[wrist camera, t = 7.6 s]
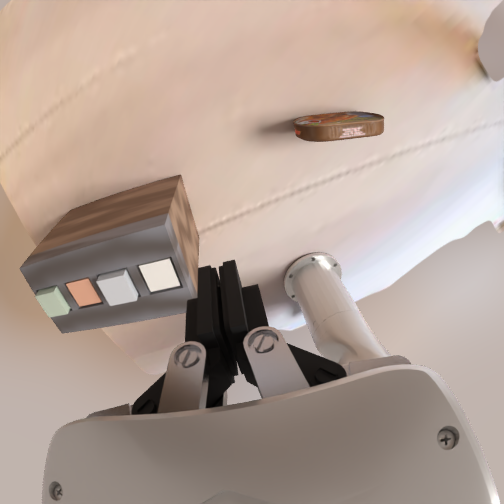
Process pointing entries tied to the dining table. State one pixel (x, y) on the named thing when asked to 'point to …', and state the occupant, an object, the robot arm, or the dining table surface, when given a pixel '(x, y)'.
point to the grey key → (118, 286)
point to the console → (120, 253)
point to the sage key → (52, 301)
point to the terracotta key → (83, 291)
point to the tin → (338, 126)
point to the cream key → (160, 274)
